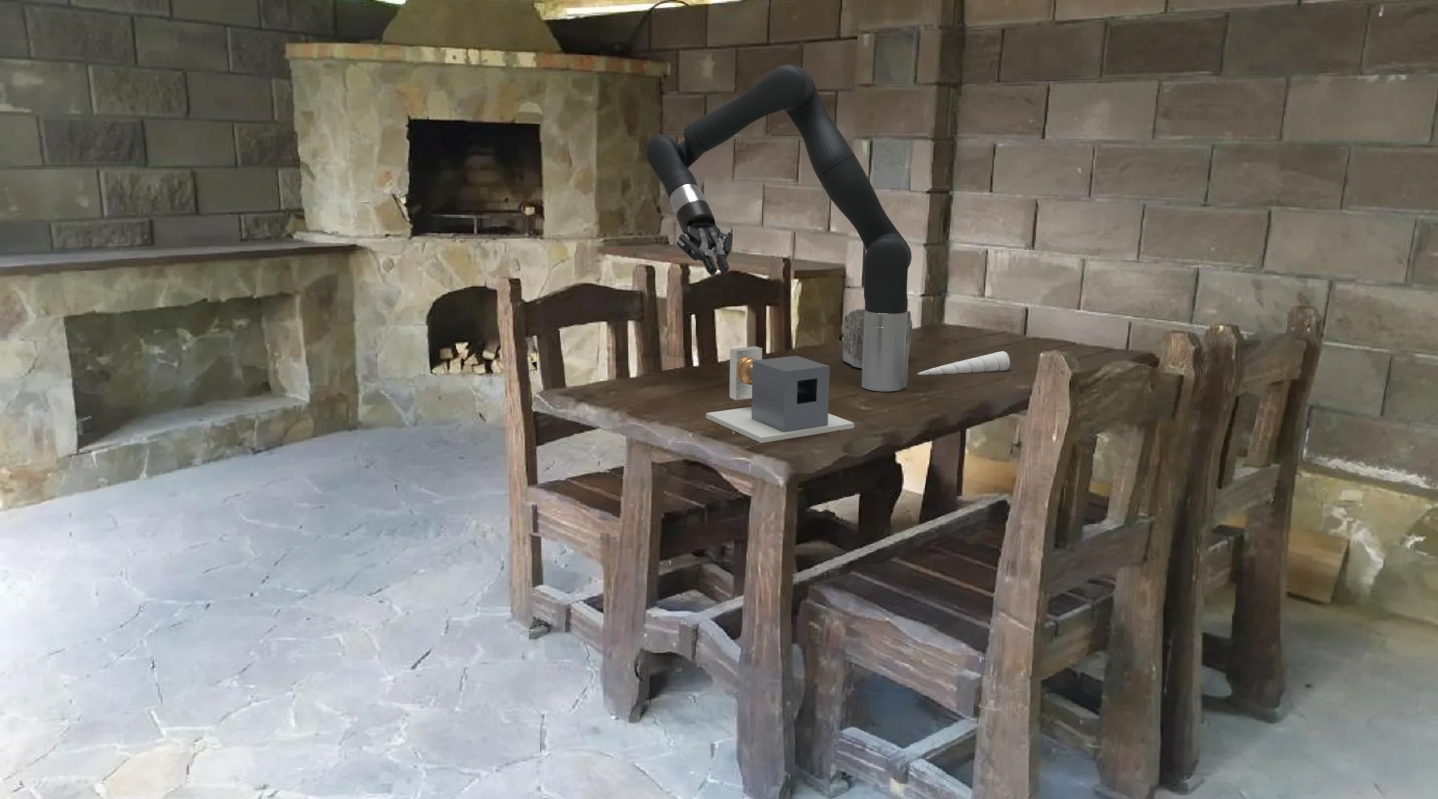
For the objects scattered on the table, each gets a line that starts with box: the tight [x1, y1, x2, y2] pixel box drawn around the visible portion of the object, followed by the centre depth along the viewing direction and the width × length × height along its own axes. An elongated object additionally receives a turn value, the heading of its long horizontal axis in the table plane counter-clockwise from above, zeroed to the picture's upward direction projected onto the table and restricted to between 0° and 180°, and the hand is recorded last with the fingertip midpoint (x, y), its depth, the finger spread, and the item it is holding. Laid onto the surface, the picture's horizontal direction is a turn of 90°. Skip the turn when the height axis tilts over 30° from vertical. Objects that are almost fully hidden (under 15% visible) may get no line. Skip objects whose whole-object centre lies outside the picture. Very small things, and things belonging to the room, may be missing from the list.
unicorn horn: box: [917, 350, 1011, 376], centre depth 246 cm, size 5×24×5 cm, turn 104°
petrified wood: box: [841, 308, 913, 369], centre depth 253 cm, size 19×17×15 cm
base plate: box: [705, 406, 855, 444], centre depth 199 cm, size 21×20×1 cm
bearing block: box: [751, 355, 831, 432], centre depth 195 cm, size 10×11×11 cm
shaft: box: [729, 345, 763, 401], centre depth 202 cm, size 6×16×10 cm, turn 31°
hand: (719, 272), depth 218 cm, fingers closed
